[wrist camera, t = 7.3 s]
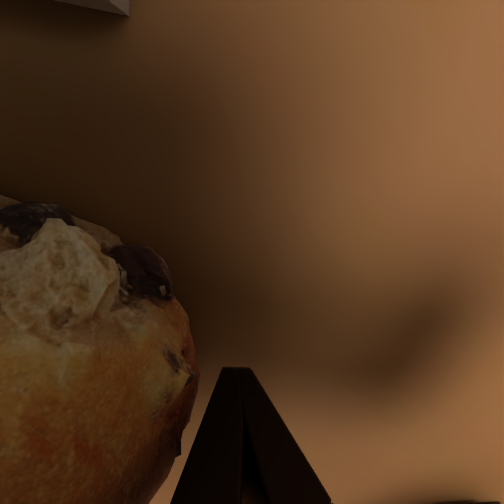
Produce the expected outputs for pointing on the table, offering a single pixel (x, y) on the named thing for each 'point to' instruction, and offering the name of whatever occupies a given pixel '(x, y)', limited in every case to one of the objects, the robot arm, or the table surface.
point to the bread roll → (87, 362)
